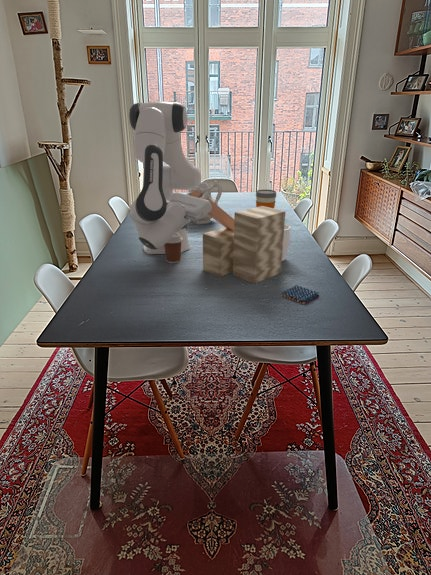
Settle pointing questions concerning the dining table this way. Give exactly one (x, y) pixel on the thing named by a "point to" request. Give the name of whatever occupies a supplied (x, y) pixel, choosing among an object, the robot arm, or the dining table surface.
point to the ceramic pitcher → (205, 187)
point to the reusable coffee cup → (265, 198)
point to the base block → (218, 251)
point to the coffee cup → (173, 249)
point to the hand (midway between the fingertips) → (202, 191)
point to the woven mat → (300, 294)
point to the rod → (217, 213)
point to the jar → (286, 241)
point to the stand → (258, 243)
